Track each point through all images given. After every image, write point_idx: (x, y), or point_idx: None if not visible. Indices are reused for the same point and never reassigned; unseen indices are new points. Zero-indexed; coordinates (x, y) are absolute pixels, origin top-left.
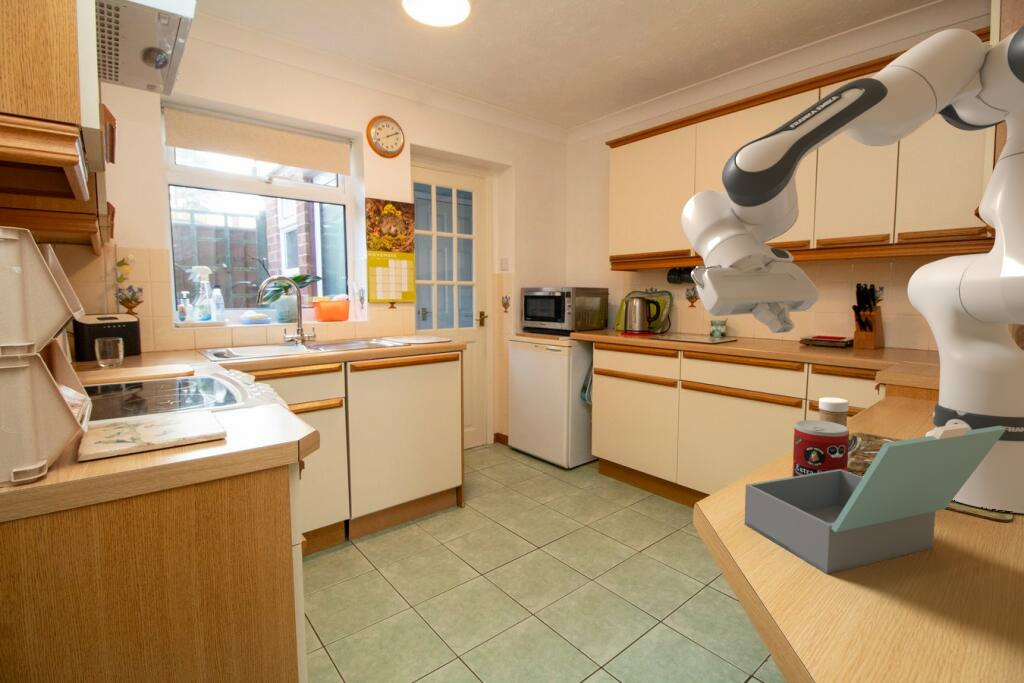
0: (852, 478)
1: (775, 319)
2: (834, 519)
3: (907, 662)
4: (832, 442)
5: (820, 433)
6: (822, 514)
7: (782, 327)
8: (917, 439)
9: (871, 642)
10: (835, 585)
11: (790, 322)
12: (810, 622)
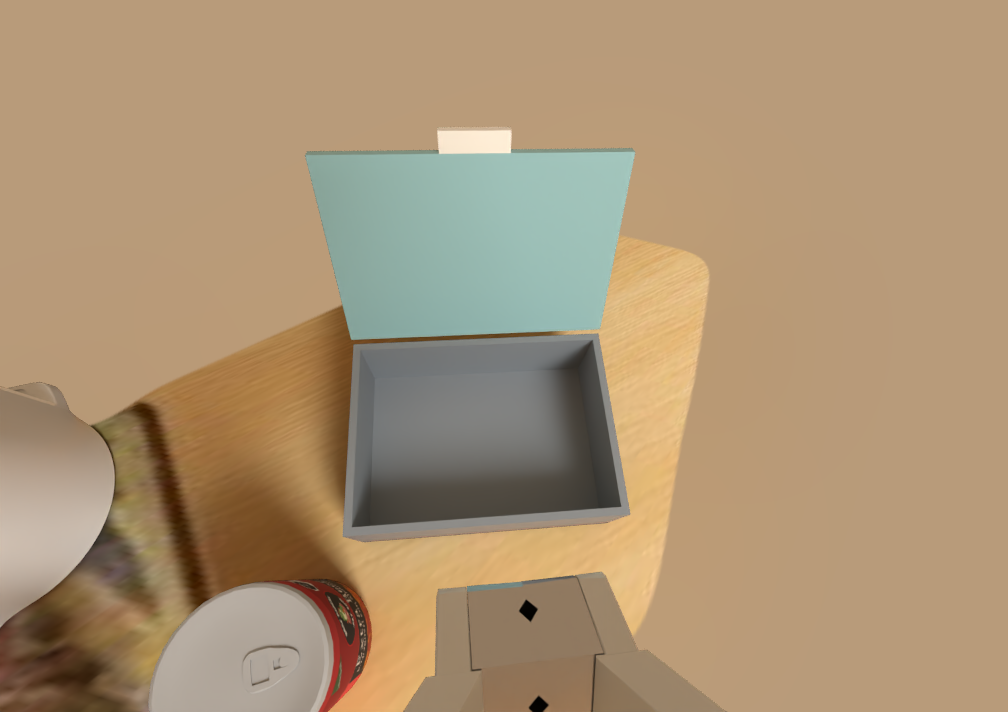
0: (355, 497)
1: (627, 635)
2: (438, 482)
3: (618, 246)
4: (297, 586)
5: (314, 608)
6: (441, 506)
7: (569, 577)
8: (555, 151)
9: (629, 269)
10: None
11: (463, 611)
12: (668, 304)
